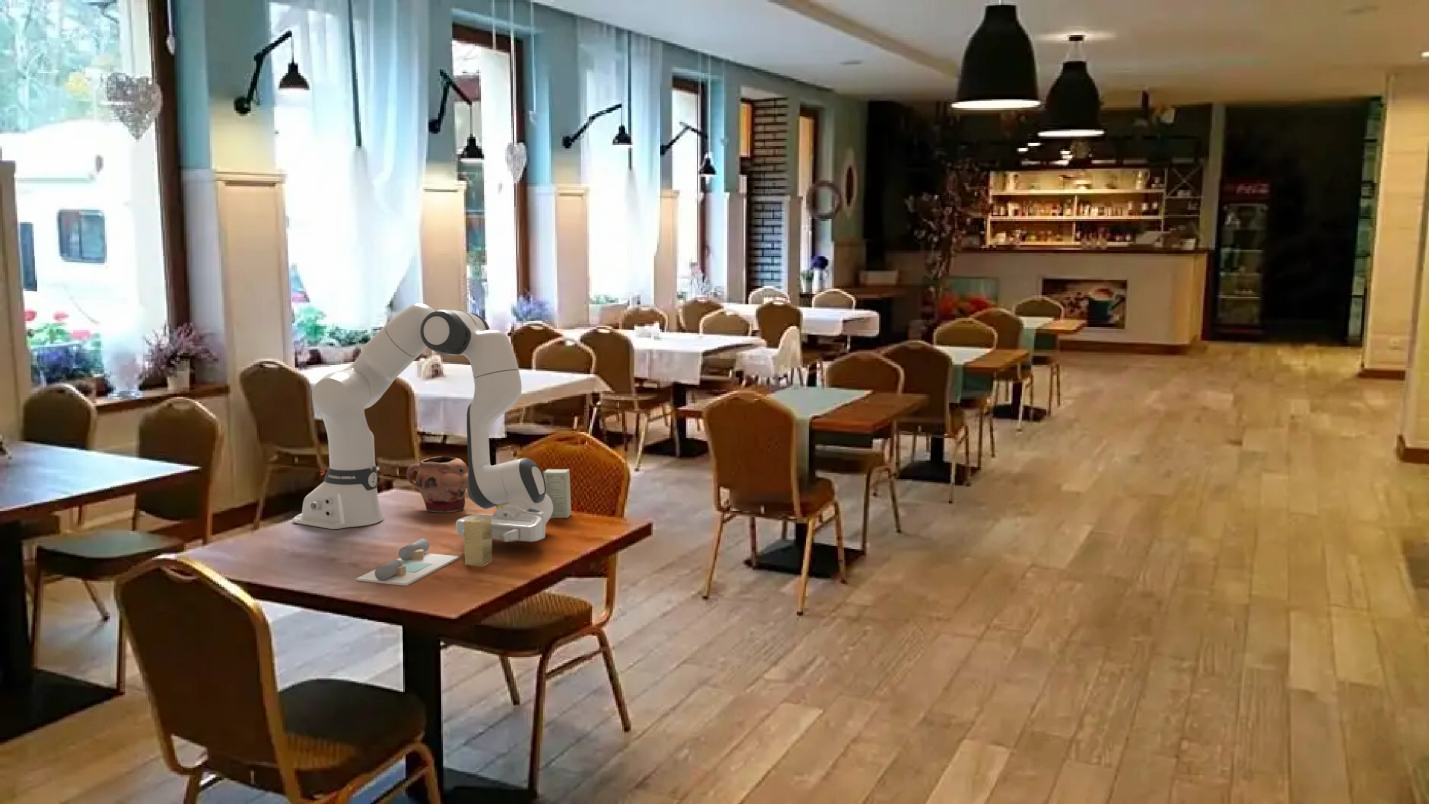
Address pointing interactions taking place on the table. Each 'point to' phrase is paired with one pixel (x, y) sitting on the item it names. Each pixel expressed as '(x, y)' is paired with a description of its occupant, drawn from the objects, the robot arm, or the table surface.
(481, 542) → the block
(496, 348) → the robot arm
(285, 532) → the table surface
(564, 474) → the skincare box
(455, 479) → the pink clay mug
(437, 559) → the white flat board
